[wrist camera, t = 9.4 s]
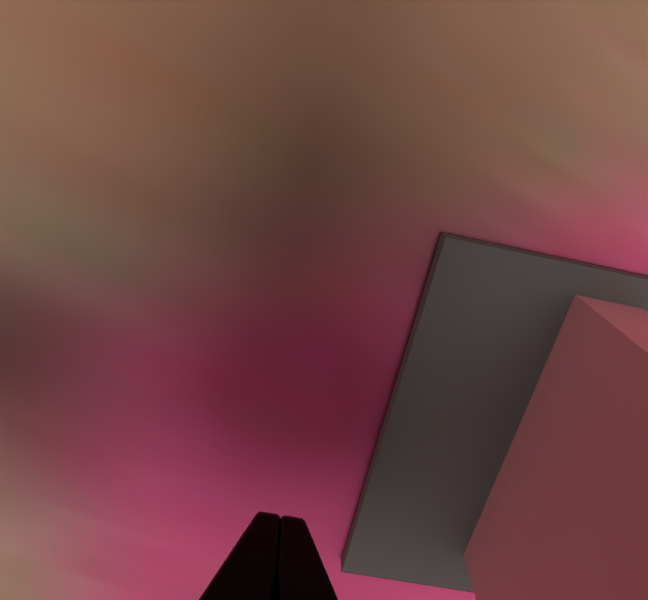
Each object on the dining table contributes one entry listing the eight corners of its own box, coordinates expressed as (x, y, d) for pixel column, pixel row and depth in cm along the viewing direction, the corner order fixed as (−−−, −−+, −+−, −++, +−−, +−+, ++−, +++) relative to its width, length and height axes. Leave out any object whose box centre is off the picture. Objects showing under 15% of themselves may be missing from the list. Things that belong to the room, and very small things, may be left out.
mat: (719, 619, 16) (729, 632, 15) (341, 559, 15) (341, 572, 14) (929, 335, 12) (949, 343, 12) (441, 232, 11) (445, 236, 11)
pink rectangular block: (517, 563, 14) (677, 957, 8) (463, 555, 14) (579, 946, 8) (642, 308, 11) (1070, 598, 5) (575, 294, 11) (922, 573, 5)
